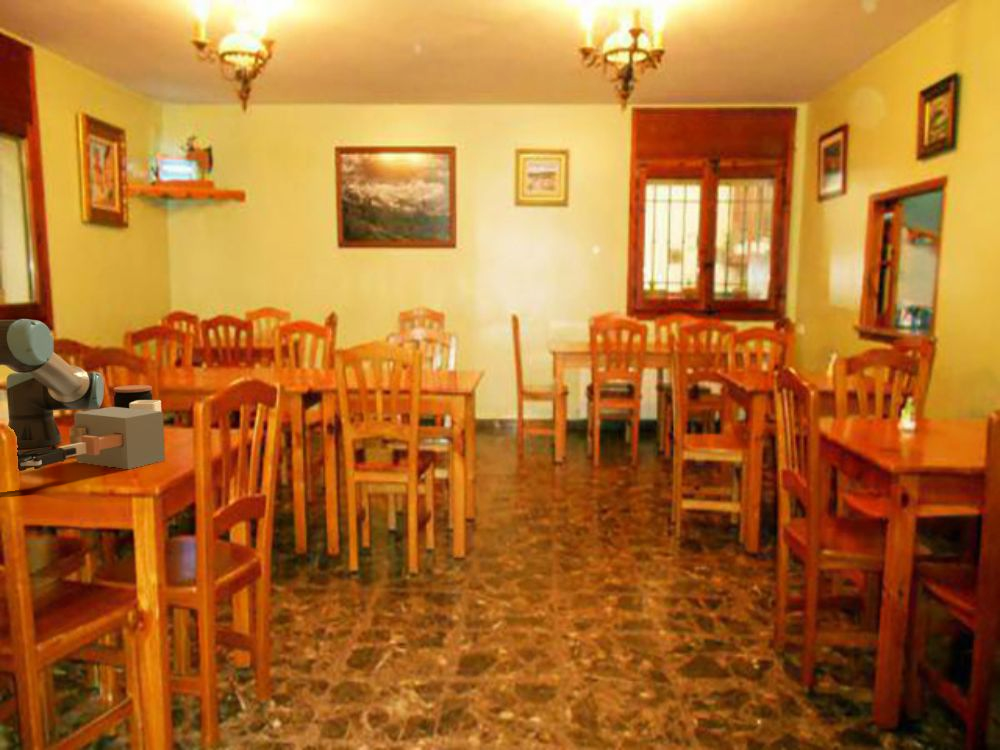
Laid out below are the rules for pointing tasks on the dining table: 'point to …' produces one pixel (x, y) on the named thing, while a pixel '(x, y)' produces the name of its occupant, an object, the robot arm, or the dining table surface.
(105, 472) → the dining table surface
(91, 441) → the terracotta plunger
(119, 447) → the wall block
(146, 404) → the cup
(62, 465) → the dining table surface
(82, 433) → the pale plunger
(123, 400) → the coffee jar
